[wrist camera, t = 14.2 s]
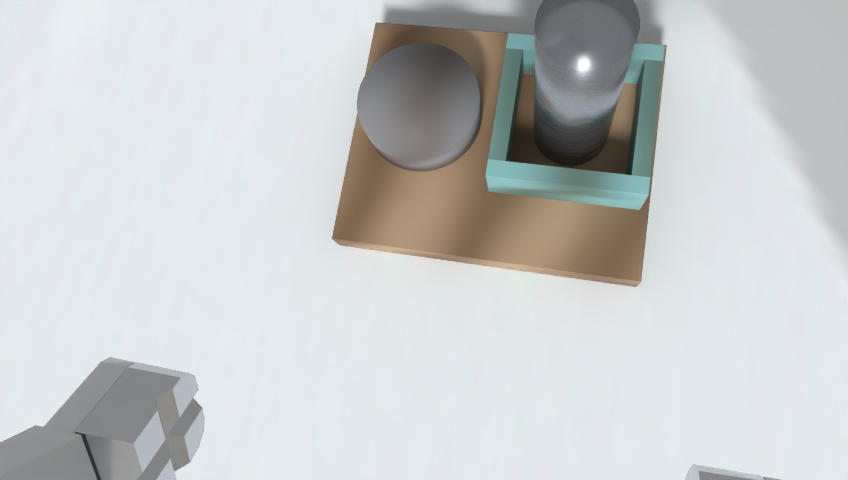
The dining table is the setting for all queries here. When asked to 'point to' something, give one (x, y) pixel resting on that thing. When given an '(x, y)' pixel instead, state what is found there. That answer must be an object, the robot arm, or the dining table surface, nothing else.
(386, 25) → the nut block
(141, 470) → the robot arm
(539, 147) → the pin
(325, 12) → the dining table surface
